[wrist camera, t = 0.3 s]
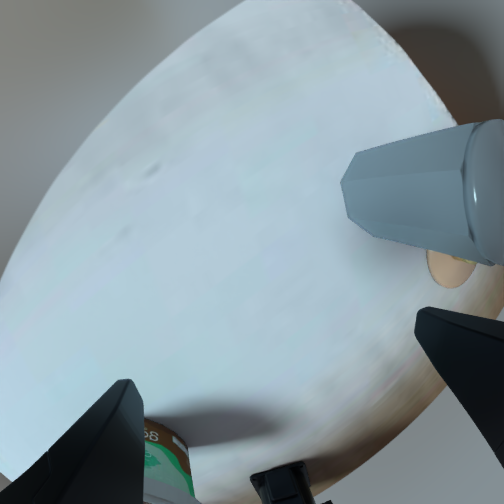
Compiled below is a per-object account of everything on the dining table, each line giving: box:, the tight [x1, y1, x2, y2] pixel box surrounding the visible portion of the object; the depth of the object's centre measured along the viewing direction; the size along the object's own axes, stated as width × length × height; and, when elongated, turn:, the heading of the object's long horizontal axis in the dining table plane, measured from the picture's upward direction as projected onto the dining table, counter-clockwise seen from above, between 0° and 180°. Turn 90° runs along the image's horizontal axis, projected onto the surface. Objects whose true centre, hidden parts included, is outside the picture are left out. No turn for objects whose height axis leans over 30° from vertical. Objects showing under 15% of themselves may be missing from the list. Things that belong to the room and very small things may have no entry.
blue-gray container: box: [340, 119, 504, 266], centre depth 16 cm, size 7×7×13 cm
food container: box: [143, 419, 201, 504], centre depth 18 cm, size 12×6×10 cm, turn 97°
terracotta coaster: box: [427, 249, 476, 288], centre depth 24 cm, size 9×9×1 cm
